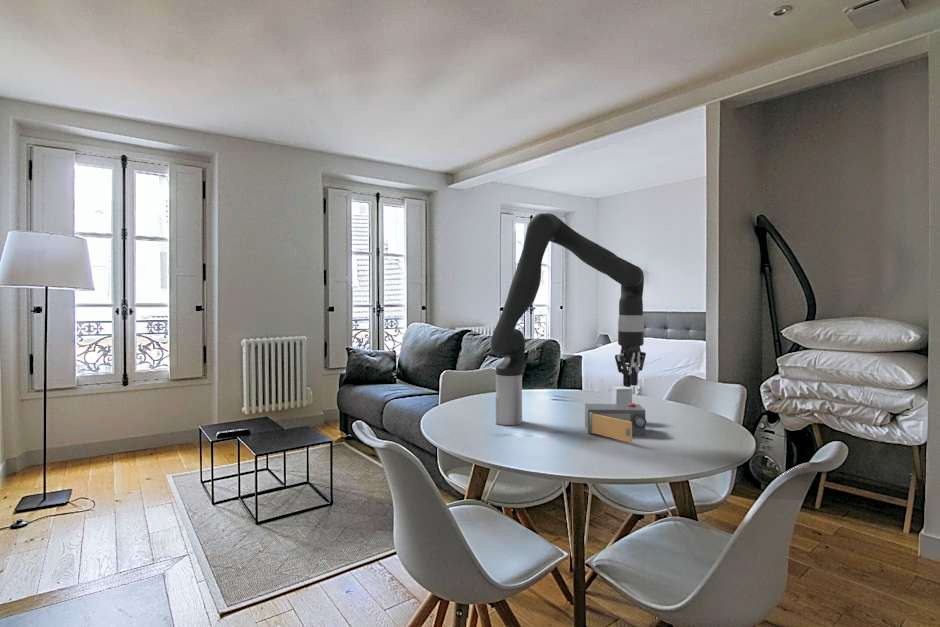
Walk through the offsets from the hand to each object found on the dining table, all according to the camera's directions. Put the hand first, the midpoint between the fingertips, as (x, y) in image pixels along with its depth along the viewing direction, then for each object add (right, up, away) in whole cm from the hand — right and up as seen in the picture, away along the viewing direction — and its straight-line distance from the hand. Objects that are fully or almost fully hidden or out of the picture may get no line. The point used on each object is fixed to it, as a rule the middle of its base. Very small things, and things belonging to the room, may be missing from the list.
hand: (630, 385), depth 157 cm
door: (-6, -17, +2) cm, 18 cm away
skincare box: (+5, -17, +25) cm, 31 cm away
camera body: (-2, -17, +12) cm, 21 cm away
